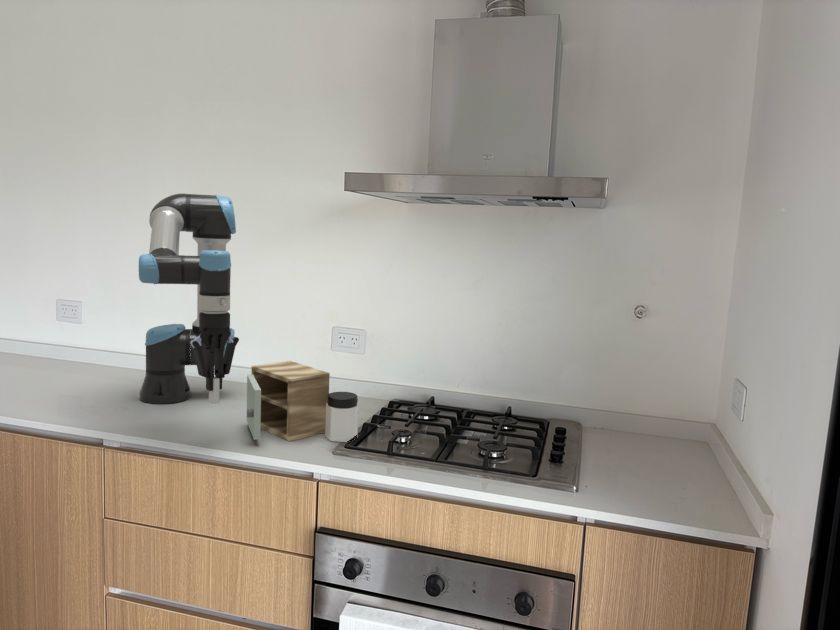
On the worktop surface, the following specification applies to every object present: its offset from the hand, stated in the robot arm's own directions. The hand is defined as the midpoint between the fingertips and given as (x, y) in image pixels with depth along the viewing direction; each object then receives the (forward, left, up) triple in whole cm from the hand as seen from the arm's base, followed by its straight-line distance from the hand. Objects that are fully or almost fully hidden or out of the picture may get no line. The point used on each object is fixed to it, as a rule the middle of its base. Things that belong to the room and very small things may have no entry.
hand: (214, 402), depth 172 cm
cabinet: (0, +23, -11) cm, 26 cm away
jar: (+16, +30, -11) cm, 35 cm away
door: (-1, +11, -10) cm, 15 cm away
